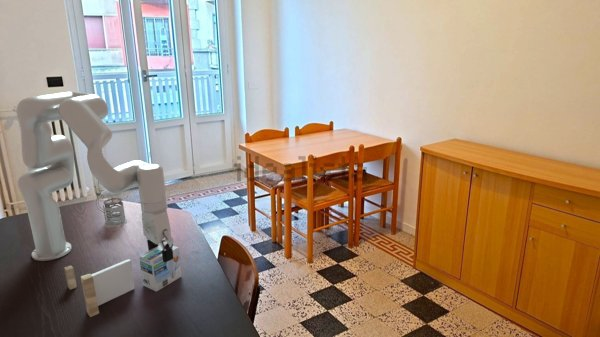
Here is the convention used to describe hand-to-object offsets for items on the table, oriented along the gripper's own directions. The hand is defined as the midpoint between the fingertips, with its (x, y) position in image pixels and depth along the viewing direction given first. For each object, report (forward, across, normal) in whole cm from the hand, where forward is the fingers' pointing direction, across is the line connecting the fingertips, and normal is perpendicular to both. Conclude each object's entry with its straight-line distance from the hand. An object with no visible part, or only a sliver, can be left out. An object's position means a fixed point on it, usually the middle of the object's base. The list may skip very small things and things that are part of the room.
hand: (160, 254), depth 132 cm
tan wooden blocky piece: (+9, -8, -22) cm, 25 cm away
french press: (+9, -56, +6) cm, 57 cm away
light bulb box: (+10, -1, 0) cm, 10 cm away
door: (+9, -2, -16) cm, 18 cm away
